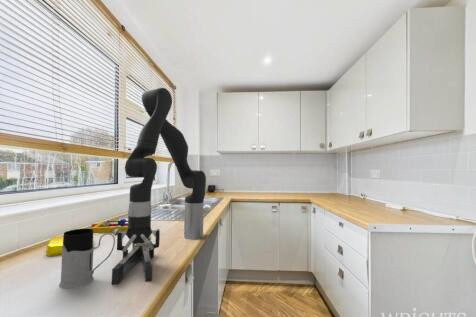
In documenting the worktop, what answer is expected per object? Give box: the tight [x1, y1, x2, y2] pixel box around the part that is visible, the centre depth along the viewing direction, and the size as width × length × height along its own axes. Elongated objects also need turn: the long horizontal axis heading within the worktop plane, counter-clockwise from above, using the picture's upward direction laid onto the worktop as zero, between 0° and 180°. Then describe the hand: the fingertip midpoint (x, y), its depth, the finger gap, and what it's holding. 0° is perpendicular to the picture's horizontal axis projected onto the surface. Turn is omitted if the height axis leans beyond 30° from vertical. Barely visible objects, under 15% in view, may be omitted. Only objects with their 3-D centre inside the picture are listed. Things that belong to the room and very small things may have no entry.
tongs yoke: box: [135, 243, 149, 259], centre depth 92 cm, size 3×5×5 cm, turn 105°
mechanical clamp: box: [90, 218, 128, 235], centre depth 128 cm, size 18×6×30 cm
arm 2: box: [141, 246, 153, 282], centre depth 81 cm, size 20×2×4 cm, turn 25°
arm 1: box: [111, 246, 141, 286], centre depth 80 cm, size 20×2×4 cm, turn 5°
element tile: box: [45, 234, 64, 257], centre depth 101 cm, size 15×15×5 cm
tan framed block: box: [131, 235, 152, 251], centre depth 92 cm, size 3×6×7 cm, turn 105°
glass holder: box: [58, 228, 116, 290], centre depth 73 cm, size 9×14×15 cm, turn 114°
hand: (138, 260), depth 84 cm, fingers open, 7 cm apart
